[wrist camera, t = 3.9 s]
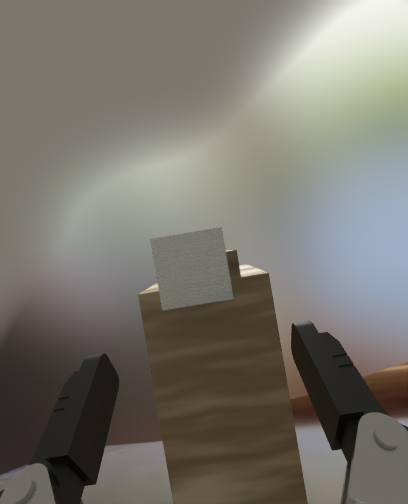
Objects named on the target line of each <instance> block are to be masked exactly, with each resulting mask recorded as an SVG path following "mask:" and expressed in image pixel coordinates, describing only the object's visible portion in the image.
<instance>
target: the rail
mask: <svg viewBox="0 0 408 504" xmlns="http://www.w3.org/2000/svg"><path fill="white" fill-rule="evenodd" d="M150 241H151V247H152V252H153V259H154V264H155V270H156V276H157V282H158V288H159V294H160V300H161V306H162V311H163V310H169V309H175V308H181V307H187V306H194V305H200V304H206V303H212V302H218V301H224V300H230V299H234V298H233V292H232V286H231V280H230V274H229V268H228V262H227V256H226V250H225V244H224V239H223V233H222V227H220V228H214V229H209V230H203V231H197V232H190V233H185V234H179V235H173V236H167V237H162V238H156V239H150Z"/></svg>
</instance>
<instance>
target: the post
mask: <svg viewBox="0 0 408 504" xmlns="http://www.w3.org/2000/svg"><path fill="white" fill-rule="evenodd" d="M226 256H227V262H228V268H229V274H230V280H231V286H232V292H233V298H234V299H230V300H224V301H218V302H212V303H206V304H200V305H194V306H187V307H181V308H175V309H169V310H163V311H162V306H161V300H160V294H159V288H158V283H156V284H155V285H153V286H151V287H150V288H148V289H146V290H145V291H143V292H141V293H140V294H138V297H139V303H140V309H141V315H142V320H143V326H144V333H145V338H146V344H147V350H148V355H149V362H150V368H151V374H152V379H153V386H154V392H155V397H156V403H157V409H158V415H159V421H160V427H161V433H162V439H163V445H164V450H165V456H166V462H167V468H168V474H169V480H170V486H171V492H172V498H173V504H308V503H307V497H306V491H305V485H304V479H303V473H302V467H301V461H300V455H299V449H298V444H297V438H296V432H295V426H294V420H293V414H292V408H291V402H290V396H289V390H288V385H287V379H286V373H285V367H284V361H283V355H282V349H281V344H280V337H279V331H278V326H277V320H276V314H275V309H274V302H273V296H272V291H271V284H270V278H269V273H268V272H265V271H263V270H260V269H257V268H255V267H252V266H249V265H247V264H246V265H240V266H239V262H238V256H237V251H236V250H226Z"/></svg>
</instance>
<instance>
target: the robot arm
mask: <svg viewBox="0 0 408 504" xmlns="http://www.w3.org/2000/svg"><path fill="white" fill-rule="evenodd" d="M291 350H292V355H293V359H294V361H295V364H296V366H297V369H298V371H299V373H300V376H301V378H302V380H303V383H304V385H305V387H306V390H307V392H308V395H309V397H310V399H311V402H312V404H313V406H314V409H315V411H316V413H317V416H318V418H319V420H320V423H321V425H322V428H323V430H324V432H325V435H326V437H327V439H328V442H329V444H330V446H331V449H332V450H339V449H342V451H343V453H344V456H345V458H346V460H347V466H346V472H345V479H344V485H343V491H342V498H341V504H408V427H406V426H404V425H402V424H400V423H399V422H398V421H397V420H395V419H393V418H392V417H391V416H389V415H388V414H387V413H386V412H385V411H384V409H383V408H382V407H381V405H380V404H379V402H378V401H377V399H376V398H375V396H374V395H373V393H372V392H371V390H370V389H369V387H368V385H367V384H366V382H365V381H364V379H363V378H362V376H361V375H360V373H359V372H358V370H357V369H356V367H355V366H354V365H353V362H352V361H351V359H350V358H349V356H347V353H346V352H345V350H344V348H343V347H342V345H341V344H340V342H339V341H338V340H337V339H335V338H334V337H333V336H332V335H330V334H329V333H328V332H324V333H318V331H317V329H316V328H315V326H314V324H313V323H312V322H311V321H306V322H300V323H294V324H292V333H291ZM118 388H119V378H118V375H117V372H116V371H115V369H114V367H113V365H112V363H111V362H110V360H109V358H108V356H107V355H106V354H99V355H92V356H87V357H86V358H85V359H84V361H83V363H82V366H81V368H80V371H77V372H74V373H73V374H72V375H71V377H70V378H69V379H68V380H67V382H66V383H65V384H64V386H63V389H62V391H61V393H60V396H59V400H58V401H57V402H56V405H55V407H54V409H53V410H54V411H53V413H52V414H51V416H50V419H49V421H48V423H47V426H46V428H45V430H44V432H43V435H42V437H41V440H40V442H39V444H38V446H37V449H36V451H35V453H34V456H33V458H32V460H31V462H30V463H29V465H28V466H27V467H25V468H24V469H22V470H21V471H20V472H19V473H17V474H16V475H15V476H14V477H13V478H12V480H11V481H10V482H9V483H8V485H7V486H6V488H5V489H4V490H2V491H1V492H0V504H83V501H82V499H81V497H82V493H83V489H84V486H88V485H94V484H96V482H97V478H98V473H99V469H100V465H101V461H102V456H103V452H104V448H105V444H106V440H107V435H108V431H109V427H110V422H111V418H112V414H113V410H114V406H115V401H116V397H117V392H118Z"/></svg>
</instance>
